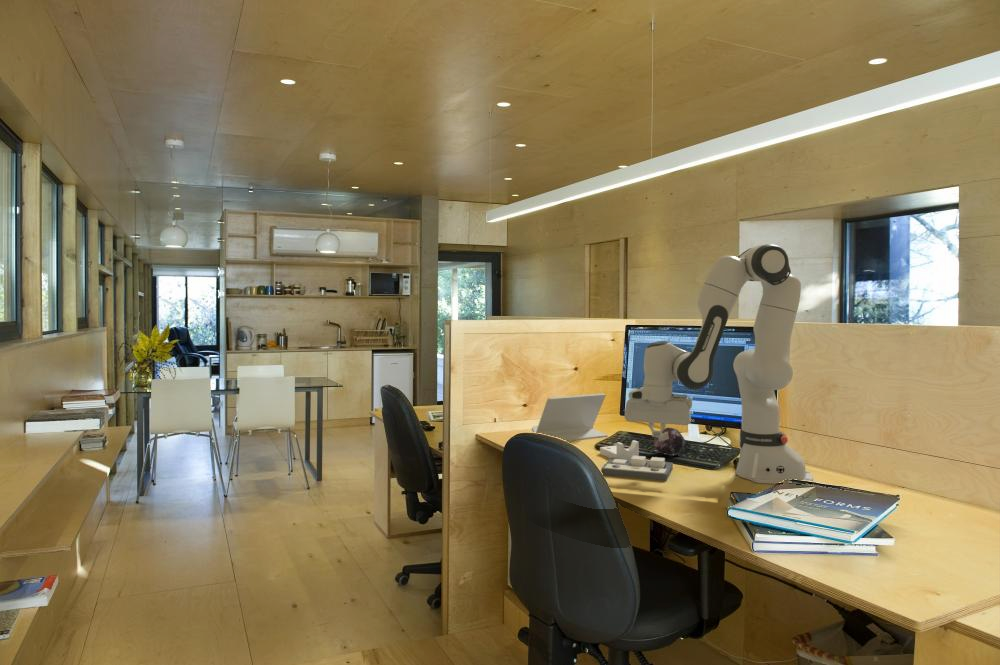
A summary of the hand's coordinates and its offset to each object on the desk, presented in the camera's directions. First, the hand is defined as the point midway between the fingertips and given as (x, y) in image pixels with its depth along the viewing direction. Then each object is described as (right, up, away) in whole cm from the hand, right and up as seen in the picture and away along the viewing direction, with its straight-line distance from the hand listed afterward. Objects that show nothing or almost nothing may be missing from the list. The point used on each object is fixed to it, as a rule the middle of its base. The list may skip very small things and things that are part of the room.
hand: (657, 436), depth 222 cm
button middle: (-5, -10, +3) cm, 11 cm away
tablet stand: (-22, -8, +57) cm, 62 cm away
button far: (-11, -11, +5) cm, 16 cm away
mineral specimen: (+10, -10, +26) cm, 29 cm away
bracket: (-9, -11, +20) cm, 24 cm away
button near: (0, -10, +1) cm, 10 cm away
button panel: (-6, -12, +2) cm, 14 cm away
